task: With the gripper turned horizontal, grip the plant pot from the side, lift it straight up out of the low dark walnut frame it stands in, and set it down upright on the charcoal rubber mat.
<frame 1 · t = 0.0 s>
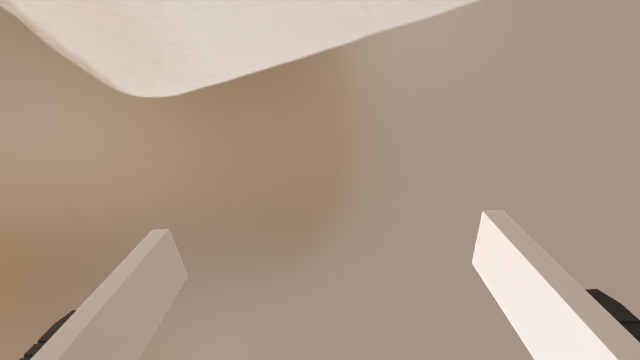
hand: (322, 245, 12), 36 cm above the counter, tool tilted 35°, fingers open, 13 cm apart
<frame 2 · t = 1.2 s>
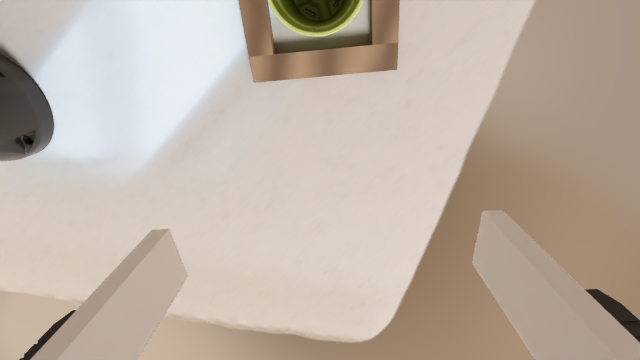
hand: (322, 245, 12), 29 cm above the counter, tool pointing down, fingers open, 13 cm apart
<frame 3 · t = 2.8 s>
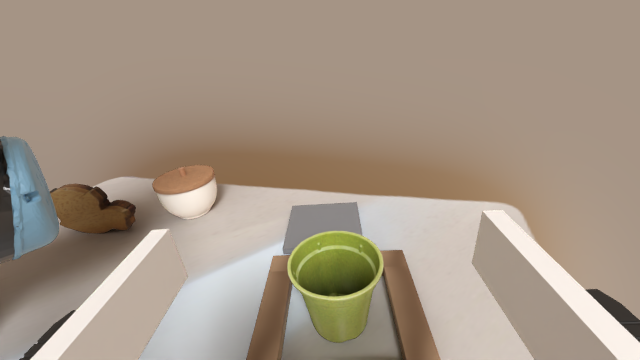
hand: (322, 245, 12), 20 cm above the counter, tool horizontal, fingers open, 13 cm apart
wooden carving: (102, 231, 52), on the counter
plant pot: (339, 319, 31), resting in walnut frame
walnut frame: (339, 317, 31), on the counter
charcoal mat: (324, 227, 47), on the counter
lidded jar: (195, 211, 55), on the counter
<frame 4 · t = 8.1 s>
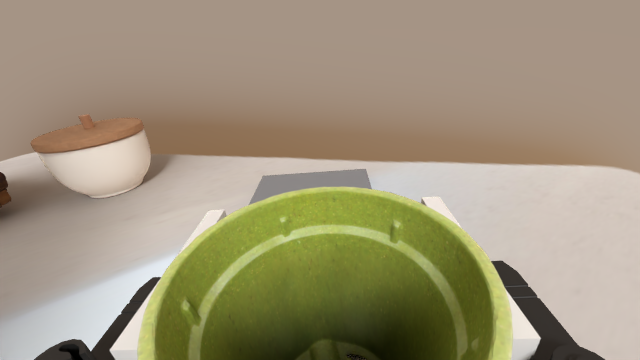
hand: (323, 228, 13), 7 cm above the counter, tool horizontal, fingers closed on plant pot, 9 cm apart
charcoal mat: (311, 207, 27), on the counter
lidded jar: (117, 188, 36), on the counter
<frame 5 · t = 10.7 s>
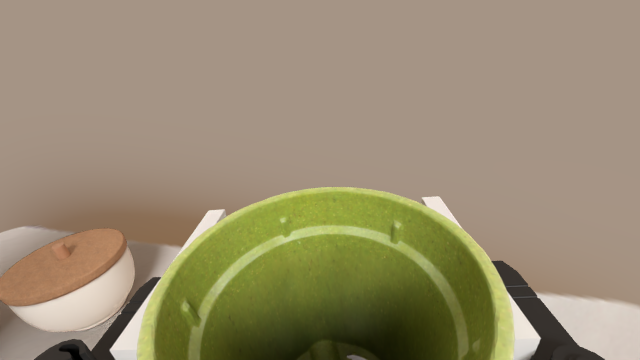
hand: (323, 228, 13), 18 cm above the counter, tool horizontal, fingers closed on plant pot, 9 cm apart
lidded jar: (98, 308, 33), on the counter
when the fingers open (9 cm above the counter, at t = 13.5 s): plant pot moves 3 cm, point 1 cm above the counter.
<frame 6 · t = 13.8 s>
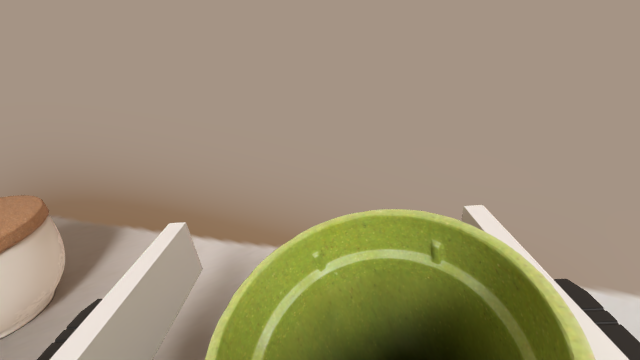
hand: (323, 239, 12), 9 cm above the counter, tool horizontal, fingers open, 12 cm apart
lidded jar: (7, 315, 22), on the counter
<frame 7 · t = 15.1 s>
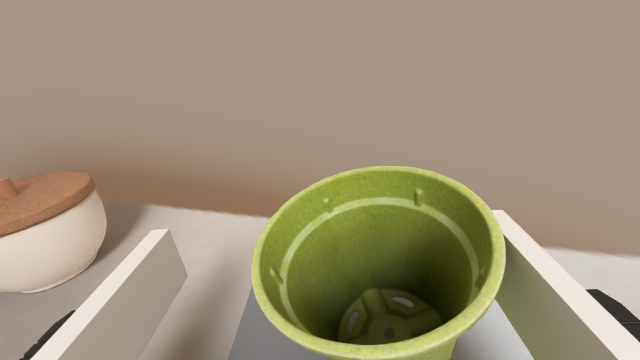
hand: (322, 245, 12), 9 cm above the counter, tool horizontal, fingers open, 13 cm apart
plant pot: (390, 342, 16), point 1 cm above the counter, touching charcoal mat, gripper
charcoal mat: (333, 345, 17), on the counter
lidded jar: (60, 269, 26), on the counter
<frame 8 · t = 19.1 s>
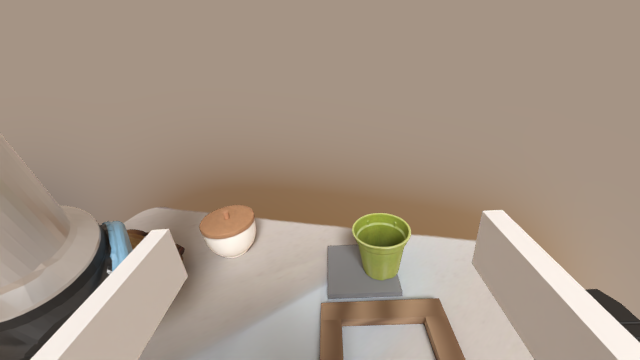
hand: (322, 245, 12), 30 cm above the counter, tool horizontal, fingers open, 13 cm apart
wooden carving: (151, 269, 56), on the counter
plant pot: (380, 269, 49), point 1 cm above the counter, touching charcoal mat
charcoal mat: (361, 270, 51), on the counter
lidded jar: (235, 249, 60), on the counter
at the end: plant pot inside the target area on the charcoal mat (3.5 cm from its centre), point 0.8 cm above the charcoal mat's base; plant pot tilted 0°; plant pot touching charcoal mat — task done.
